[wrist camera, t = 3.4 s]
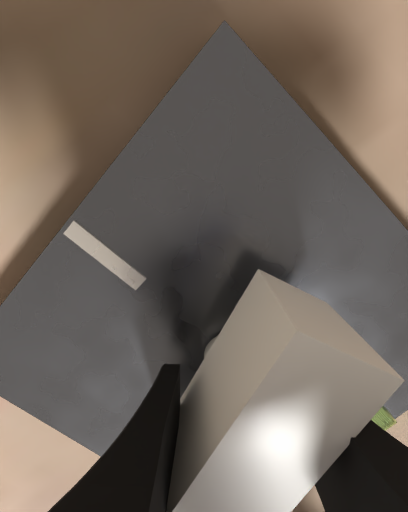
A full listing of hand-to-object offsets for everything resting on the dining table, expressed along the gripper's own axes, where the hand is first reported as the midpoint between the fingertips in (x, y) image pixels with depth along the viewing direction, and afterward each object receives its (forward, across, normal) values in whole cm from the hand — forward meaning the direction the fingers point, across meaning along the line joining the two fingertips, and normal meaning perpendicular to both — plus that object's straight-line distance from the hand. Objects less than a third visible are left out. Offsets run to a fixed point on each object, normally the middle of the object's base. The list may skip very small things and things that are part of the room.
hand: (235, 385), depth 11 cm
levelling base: (+3, 0, 0) cm, 3 cm away
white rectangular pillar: (+2, 0, 0) cm, 2 cm away
